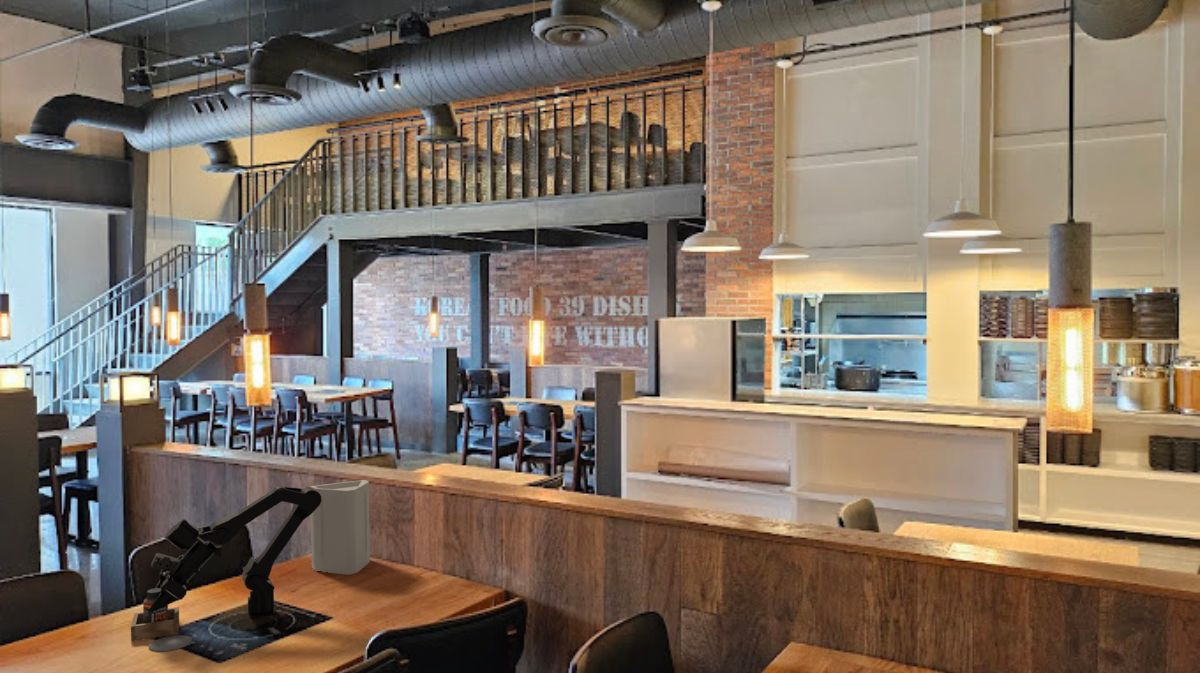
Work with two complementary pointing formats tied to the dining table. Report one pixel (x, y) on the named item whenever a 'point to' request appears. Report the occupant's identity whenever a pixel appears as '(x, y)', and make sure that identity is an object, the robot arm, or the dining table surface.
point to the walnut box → (155, 626)
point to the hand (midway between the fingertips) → (149, 606)
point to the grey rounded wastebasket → (341, 528)
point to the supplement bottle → (156, 615)
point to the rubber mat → (170, 643)
